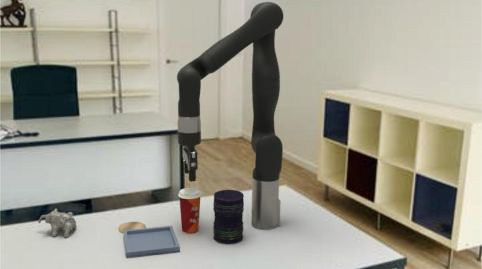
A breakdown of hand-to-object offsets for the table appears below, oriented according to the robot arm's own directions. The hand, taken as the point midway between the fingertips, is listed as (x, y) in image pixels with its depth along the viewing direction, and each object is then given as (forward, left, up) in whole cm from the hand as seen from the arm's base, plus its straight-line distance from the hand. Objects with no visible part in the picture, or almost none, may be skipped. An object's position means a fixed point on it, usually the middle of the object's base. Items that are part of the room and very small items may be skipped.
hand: (189, 177), depth 158 cm
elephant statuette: (+43, -8, -19) cm, 48 cm away
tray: (+14, +7, -19) cm, 24 cm away
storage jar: (-11, +9, -19) cm, 24 cm away
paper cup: (0, 0, -19) cm, 19 cm away
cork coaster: (+19, -6, -19) cm, 27 cm away
